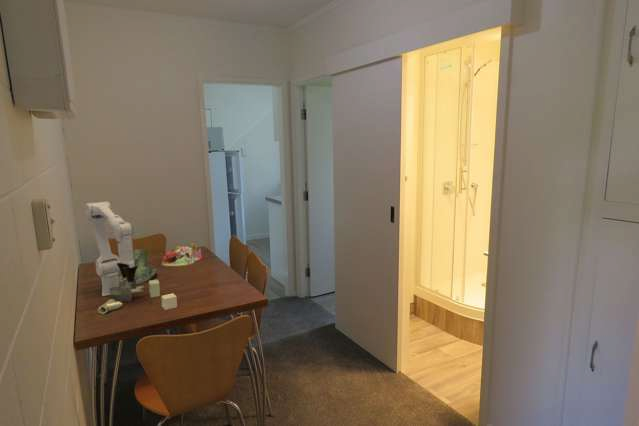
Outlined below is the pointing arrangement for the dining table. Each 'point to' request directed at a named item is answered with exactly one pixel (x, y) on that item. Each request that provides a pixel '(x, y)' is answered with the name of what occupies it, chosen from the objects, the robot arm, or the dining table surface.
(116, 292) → the grey boxy piece
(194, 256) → the toy food platter
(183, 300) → the dining table surface
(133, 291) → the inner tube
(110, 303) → the pipe fitting
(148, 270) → the tree stump
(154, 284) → the socket block
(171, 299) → the cream white cube
